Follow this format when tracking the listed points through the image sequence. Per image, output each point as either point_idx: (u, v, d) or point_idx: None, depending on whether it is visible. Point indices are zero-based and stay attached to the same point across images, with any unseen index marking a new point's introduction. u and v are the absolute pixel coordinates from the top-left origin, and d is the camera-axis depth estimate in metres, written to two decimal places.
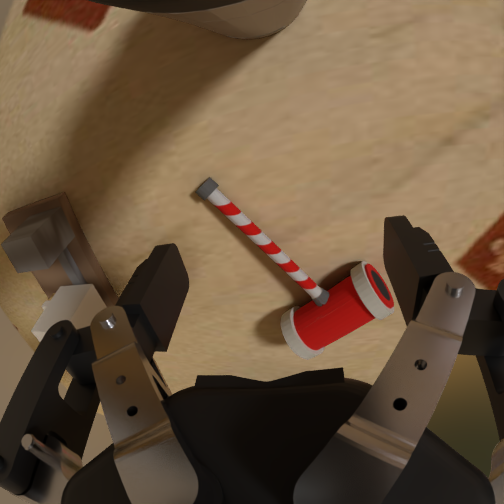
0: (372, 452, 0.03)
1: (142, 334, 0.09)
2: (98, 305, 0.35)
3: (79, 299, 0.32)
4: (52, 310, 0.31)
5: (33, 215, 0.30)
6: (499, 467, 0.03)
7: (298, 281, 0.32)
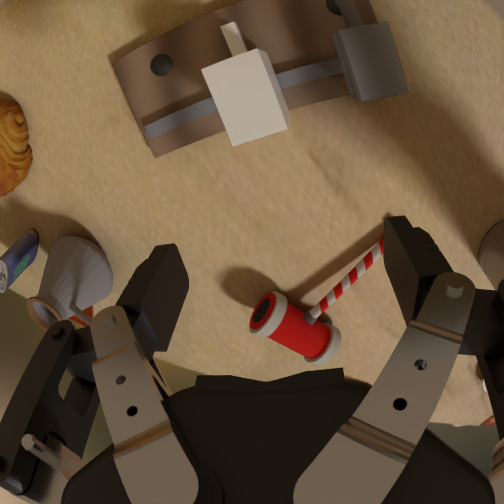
0: (372, 452, 0.03)
1: (142, 334, 0.09)
2: None
3: (286, 110, 0.24)
4: (270, 70, 0.21)
5: None
6: (499, 467, 0.03)
7: (327, 303, 0.39)
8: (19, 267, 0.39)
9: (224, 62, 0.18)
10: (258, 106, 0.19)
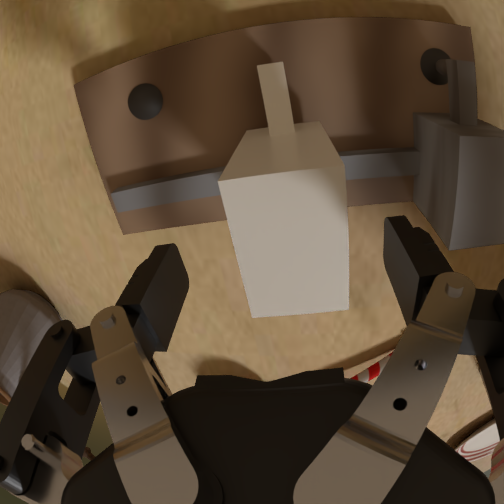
0: (372, 452, 0.03)
1: (142, 334, 0.09)
2: None
3: None
4: None
5: None
6: (499, 467, 0.03)
7: None
8: None
9: (270, 178, 0.10)
10: (312, 272, 0.11)
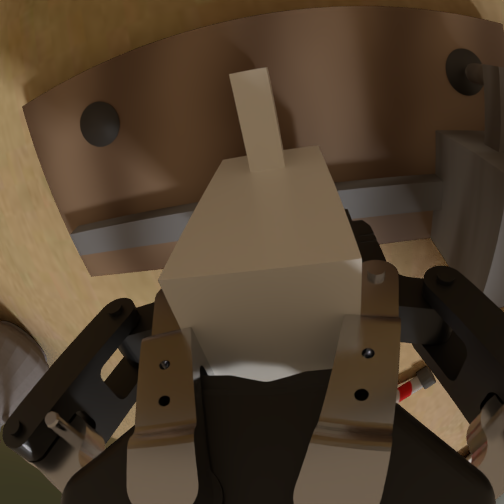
0: (354, 446, 0.04)
1: None
2: None
3: None
4: None
5: None
6: (479, 449, 0.04)
7: None
8: None
9: (238, 279, 0.06)
10: None
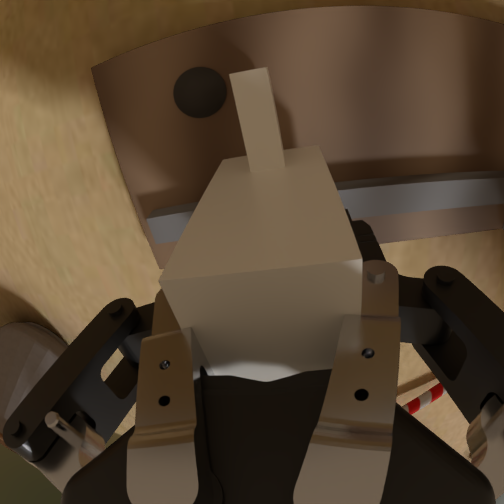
0: (354, 446, 0.04)
1: None
2: None
3: None
4: None
5: None
6: (479, 450, 0.04)
7: None
8: None
9: (238, 279, 0.06)
10: None
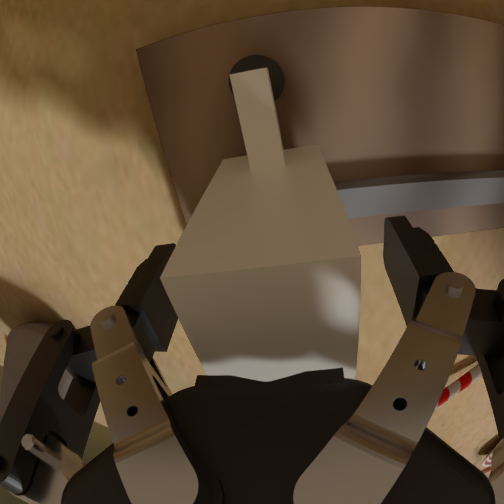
0: (372, 452, 0.03)
1: (142, 334, 0.09)
2: None
3: None
4: None
5: None
6: (499, 467, 0.03)
7: None
8: None
9: (239, 276, 0.06)
10: None
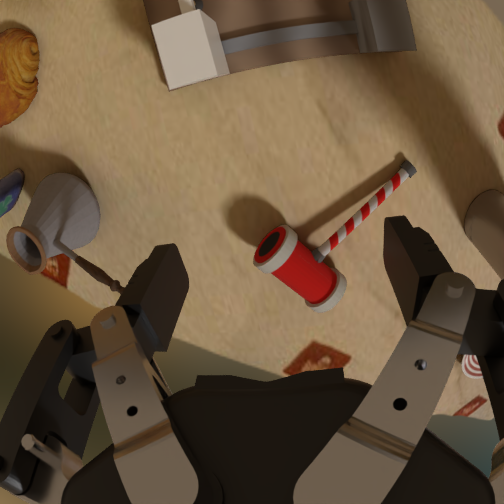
0: (372, 452, 0.03)
1: (142, 334, 0.09)
2: None
3: (224, 69, 0.25)
4: (211, 31, 0.22)
5: None
6: (499, 467, 0.03)
7: (337, 239, 0.38)
8: (0, 206, 0.34)
9: (170, 19, 0.19)
10: (194, 56, 0.20)
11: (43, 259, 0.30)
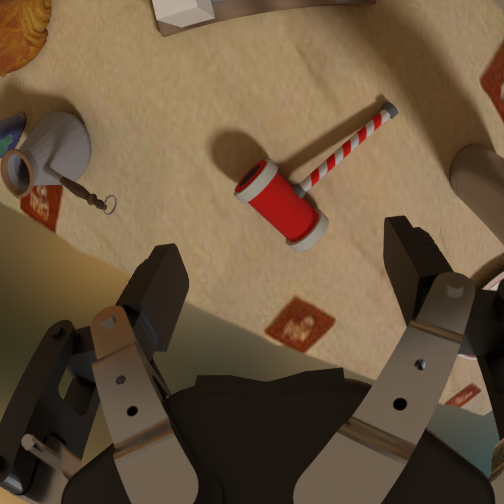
0: (372, 452, 0.03)
1: (142, 334, 0.09)
2: (190, 23, 0.27)
3: (208, 10, 0.25)
4: None
5: None
6: (499, 467, 0.03)
7: (318, 173, 0.38)
8: (0, 144, 0.35)
9: None
10: None
11: (31, 179, 0.30)
